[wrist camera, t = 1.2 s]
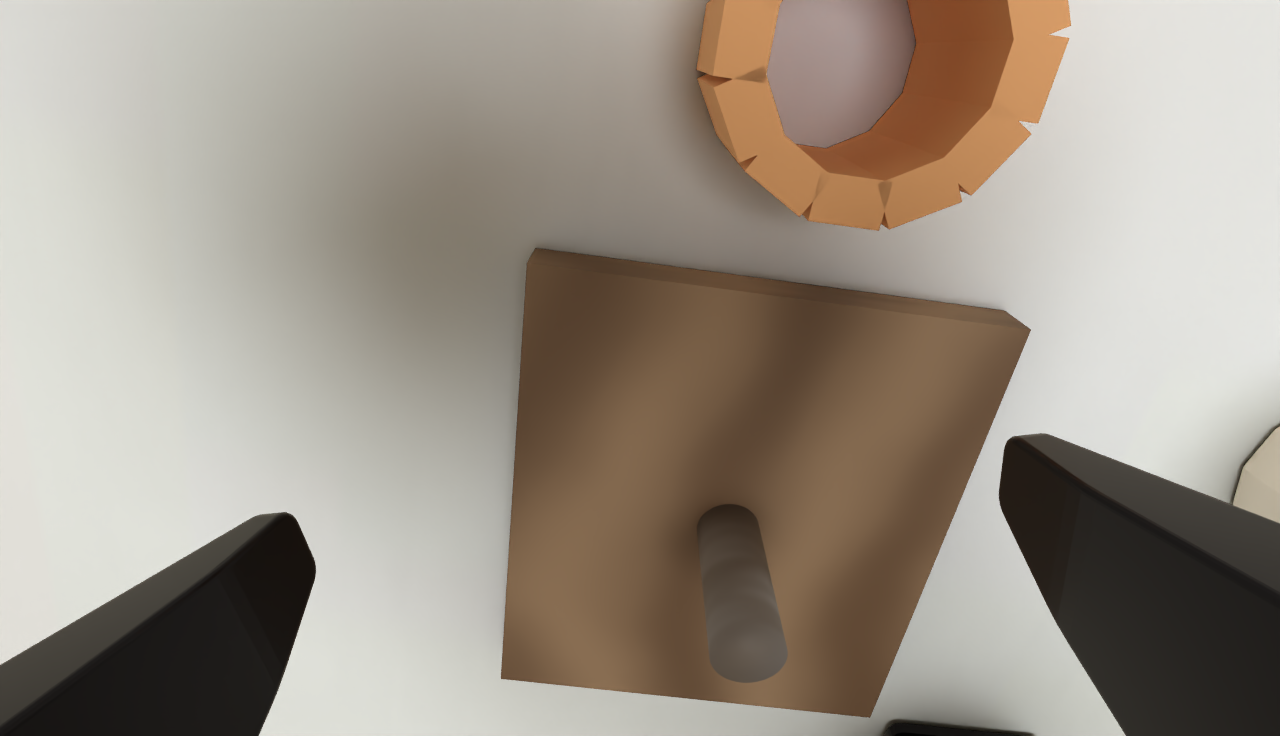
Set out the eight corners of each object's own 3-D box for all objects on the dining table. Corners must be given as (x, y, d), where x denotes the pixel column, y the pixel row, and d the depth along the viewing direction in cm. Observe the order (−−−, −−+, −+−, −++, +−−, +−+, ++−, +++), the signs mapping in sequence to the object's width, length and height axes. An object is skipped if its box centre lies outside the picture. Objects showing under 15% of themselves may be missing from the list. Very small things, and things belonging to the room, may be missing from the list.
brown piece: (1004, 310, 20) (1154, 419, 14) (858, 683, 27) (917, 862, 21) (535, 247, 19) (485, 334, 13) (508, 646, 26) (467, 819, 20)
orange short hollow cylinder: (991, -73, 16) (1128, -123, 11) (909, 199, 19) (993, 246, 14) (725, -115, 16) (755, -185, 11) (681, 167, 18) (691, 204, 14)
